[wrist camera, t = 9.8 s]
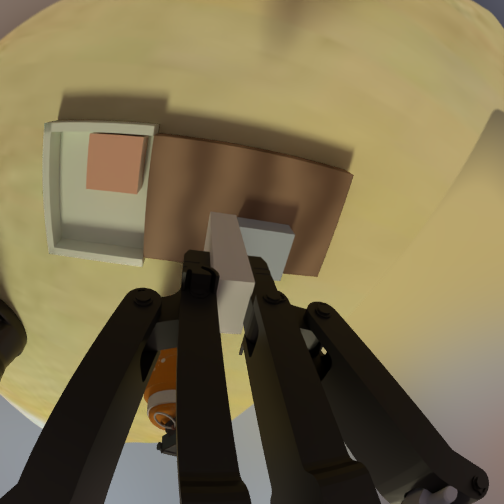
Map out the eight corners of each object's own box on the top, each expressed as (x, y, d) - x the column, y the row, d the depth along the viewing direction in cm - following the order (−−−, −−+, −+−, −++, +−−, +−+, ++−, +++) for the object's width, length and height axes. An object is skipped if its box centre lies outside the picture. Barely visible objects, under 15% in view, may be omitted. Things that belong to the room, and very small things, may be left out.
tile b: (227, 263, 33) (229, 275, 31) (237, 217, 30) (239, 226, 28) (275, 269, 34) (280, 280, 32) (288, 225, 32) (295, 234, 29)
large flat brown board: (146, 247, 33) (143, 257, 31) (158, 133, 26) (153, 135, 24) (311, 266, 38) (317, 276, 36) (344, 169, 32) (353, 174, 30)
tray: (58, 242, 30) (48, 253, 28) (57, 120, 23) (44, 123, 20) (146, 254, 33) (142, 266, 31) (159, 124, 26) (154, 126, 23)
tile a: (94, 182, 27) (86, 188, 25) (98, 130, 25) (89, 133, 22) (142, 187, 29) (137, 194, 27) (148, 134, 26) (143, 137, 24)
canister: (143, 333, 40) (128, 451, 23) (179, 289, 37) (172, 426, 20) (190, 355, 44) (193, 466, 27) (230, 317, 41) (250, 443, 23)
